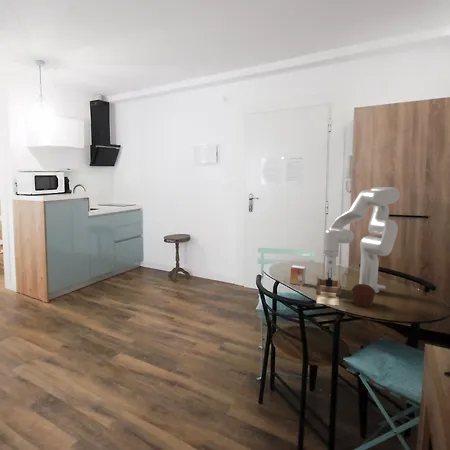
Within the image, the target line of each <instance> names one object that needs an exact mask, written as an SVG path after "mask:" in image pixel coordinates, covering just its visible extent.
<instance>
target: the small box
mask: <svg viewBox="0 0 450 450" xmlns="http://www.w3.org/2000/svg"><path fill="white" fill-rule="evenodd" d="M306 268H307V266H300V265H295V264H294V265H292V266H290V275H289V278H290V279H289V284H294V285H296V286H297V285H298V286H303V285H304V284H305V283H306V273H307V272H306V270H307V269H306Z"/></svg>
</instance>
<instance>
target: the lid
mask: <svg viewBox="0 0 450 450" xmlns="http://www.w3.org/2000/svg"><path fill="white" fill-rule="evenodd" d="M316 304H318V305H326V306H327V305H328V306H335V305H338V307H340V297H336V293H329V292H321V295H317V296H316Z"/></svg>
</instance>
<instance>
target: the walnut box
mask: <svg viewBox="0 0 450 450" xmlns="http://www.w3.org/2000/svg"><path fill="white" fill-rule="evenodd" d="M332 280H333V281H332V287H327V286H326V278H320V277H319V275H317V276H316V289H315V295H316V294H317V295H321V292H329V293H336V297H339V298H341V297H342V282H341V278H340V277H339V278H338V279H332Z"/></svg>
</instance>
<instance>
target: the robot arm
mask: <svg viewBox="0 0 450 450" xmlns="http://www.w3.org/2000/svg"><path fill="white" fill-rule="evenodd" d="M399 198H400V191H399V189H398V188H396V187H393V186H391V187H389V186H388V187H387V186H375V187H372V188H370V189H364V190H363V189H362V190H361V191H360V192H359V193H358V195H357V196H356V198H355V200H354V201H353V203H352V204H351V205H350V208H349V209H348V210H347V211H346V212H344V213H343V214H341V215H339V216H338V217H337V218H336V219H335V220H334V221H332V222H333V223H332V224H331V226H330V228H328V229H326V230H325V231H324V239H323V240H324V241H323V256H324V257H325V264H324V266H325V275H326V278H325V279H326V286H327V287H332V281H333V280H334V279H333V276H336V271H337V270H336V268H337V258H338V257H339V246H340V244H350V243H352V242H353V241H354V239H355V235H354V232H353V231H352V230H351V229H346V228H344V227H346V226H348V225H349V224H351V223H355V222H358V221H361V220H363V219H364V218H365V215H366V214H367V213H368V211H369V209H370V207H373V208H372V209H373V210H372V214H371V216H370V219H369V223H368V227H367V229H368V233H369V234H371V235H366V236H363V237H362V238H361V239H360V241H359V242H360V243H359V248H360V249H359V250H360V265H359V266H360V268H359V269H360V270H359V281H358V284H366V285H369V286H371V287H372V288H373V289H374V290H375V292H376V294H377V293H379V292H380V290H386V289H387V287H386V285H383V284H378V278H379V277H378V274H379V265H380V264H379V263H380V261H379V257H378V256H381V257H387V256H389V255H390V254H392V253H391V252H392V251H393V248H394V245H395V242H396V239H397V235H398V231H399V228H398V224H397V222H396V221H394V220H392V219H389V216H390V208H389V206H388V205H391V204H394V203H396V202H398V200H399ZM372 235H375V236H372ZM378 236H379V237H378ZM380 236H381V237H380Z"/></svg>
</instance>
